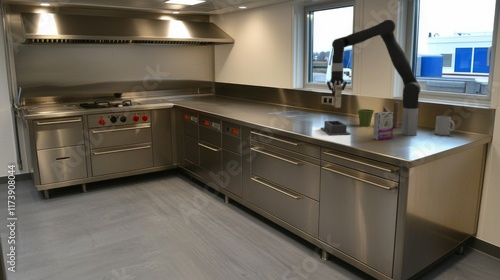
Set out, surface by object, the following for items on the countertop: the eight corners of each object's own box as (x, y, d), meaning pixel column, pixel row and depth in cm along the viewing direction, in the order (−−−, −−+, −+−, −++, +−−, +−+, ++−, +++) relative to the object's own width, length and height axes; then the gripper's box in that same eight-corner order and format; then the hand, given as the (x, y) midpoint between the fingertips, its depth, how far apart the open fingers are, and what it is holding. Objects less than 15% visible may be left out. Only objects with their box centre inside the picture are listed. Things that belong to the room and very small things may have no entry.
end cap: (350, 134, 256) (350, 125, 255) (329, 135, 255) (329, 126, 254) (340, 128, 278) (340, 119, 277) (320, 128, 277) (320, 120, 275)
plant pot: (373, 127, 280) (374, 111, 278) (356, 126, 284) (356, 111, 281) (373, 124, 291) (374, 109, 289) (356, 123, 295) (357, 108, 292)
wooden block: (384, 125, 287) (386, 100, 283) (398, 127, 279) (400, 101, 275) (382, 126, 284) (383, 101, 280) (396, 128, 277) (398, 102, 273)
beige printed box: (340, 107, 258) (341, 86, 254) (336, 107, 257) (337, 86, 253) (336, 104, 267) (337, 83, 263) (331, 104, 267) (332, 84, 263)
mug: (431, 133, 258) (433, 116, 255) (440, 131, 262) (441, 115, 260) (449, 136, 248) (450, 119, 245) (457, 135, 252) (459, 118, 249)
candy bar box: (386, 137, 248) (388, 111, 245) (392, 138, 244) (394, 112, 240) (372, 138, 244) (374, 112, 240) (378, 140, 240) (379, 113, 236)
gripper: (328, 70, 253) (327, 97, 257) (349, 70, 255) (348, 97, 258) (325, 70, 261) (324, 96, 264) (345, 69, 262) (344, 95, 266)
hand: (336, 96), depth 261 cm, fingers closed on beige printed box, 3 cm apart
